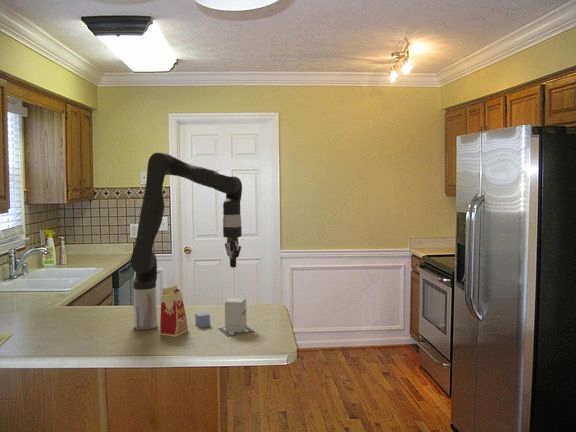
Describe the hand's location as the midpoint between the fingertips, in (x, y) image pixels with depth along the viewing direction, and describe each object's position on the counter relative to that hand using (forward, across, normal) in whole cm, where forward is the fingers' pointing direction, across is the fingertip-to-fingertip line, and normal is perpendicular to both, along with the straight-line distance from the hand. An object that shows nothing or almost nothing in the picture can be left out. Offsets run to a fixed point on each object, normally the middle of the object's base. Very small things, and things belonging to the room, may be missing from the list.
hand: (233, 267), depth 214 cm
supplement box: (+27, 0, +1) cm, 27 cm away
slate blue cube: (+27, -14, -9) cm, 32 cm away
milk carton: (+27, -10, -23) cm, 37 cm away
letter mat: (+27, 0, +1) cm, 27 cm away
